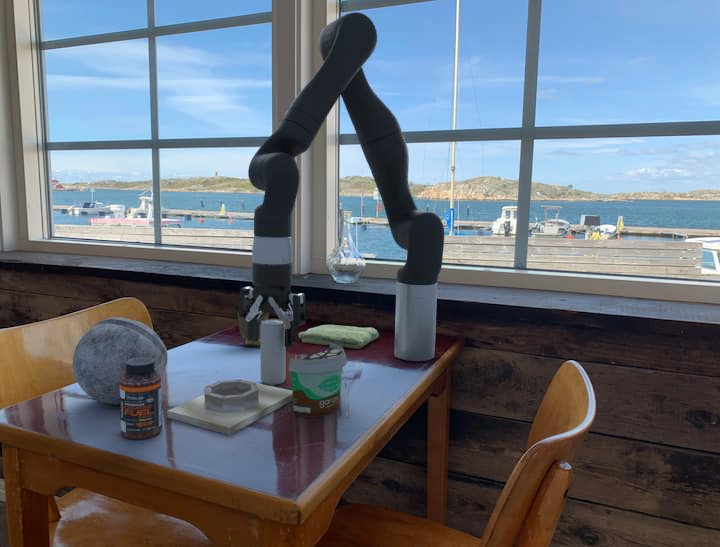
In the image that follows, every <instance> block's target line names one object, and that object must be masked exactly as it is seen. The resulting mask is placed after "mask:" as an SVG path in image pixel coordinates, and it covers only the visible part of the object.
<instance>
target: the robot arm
mask: <svg viewBox="0 0 720 547" xmlns="http://www.w3.org/2000/svg"><path fill="white" fill-rule="evenodd" d="M377 43H378V33H377V29H376V25H375V24H374V22H373V21H372V19H371V18H370V17H369V16H367V15H366V14H364V13H362V12H355V11H354V12H350V13H346V14H344V15H342V16H340V17H338V18H336V19H335V20H333V21H332V22H330V23H329V24H327V25H325V26H324V27H323V28H322V29H321V31H320V33H319V37H318V47H319V48H318V49H319V53H320V55H321V58H322V61H323V63H322V65H321V66H320V67H319V69H318V70H317V72H316V73H315V74H314V76H312V78H311V79H310V80H309V81H308V82H307V83H306V84H305V86H304V87H303V88H302V89H301V90H300V91H299V93H298V94H296V96H295V98H294V99H293V101H292V102H291V104H290V105H289V107H288V109H287V110H286V112H285V114H284V115H283V117H282V118H281V120H280V122H279V124H278V125H277V127H276V129H275V130H274V132H273V133H271V135H270V136H269V137H268V138H267V139H266V140H265V142H264V143H263V144H262V145H260V147H259V148H258V150H257V151H256V152H255V153H254V155H253V157H252V158H251V160H250V162H249V165H248V173H247V174H248V179H249V182H250V184H251V185H252V186H253V187H254V188H255V189H257V190H259V191H263V192H264V196H263V201H262V203H261V204H259V205H257V206H256V207H255V209H254V214H253V241H252V248H251V249H252V250H251V251H252V252H251V257H252V258H251V263H252V264H251V282H252V285H253V287H252V286H251V285H250V286H245V287H241V288H240V289H239V298H238V299H239V300H238V301H239V302H238V312H239V317H241V318H242V317H243V318H245V319H246V321H247V322H248V333H247V335H248V337H249V340H250V341H255V340H258V338H259V321H257V319H258V318H259V317H260V315H261V314H262V313H263V314H264V313H267V312H269V314H271V315H276V316H277V317H278V319H280V320H282V321H283V323H284V324H285V326H286V328H285V347H286V348H292V347H294V345H295V344H296V343H297V327H300V326H302V325H306V324H307V312H306V309H307V308H306V305H307V304H306V294H305V293H303V292H301V293H292V291H291V286H292V283H293V241H292V224H293V223H292V220H293V219H292V215H293V210H294V208H295V204H296V200H297V197H298V192H299V188H300V177H301V174H300V168H299V165H298V163H297V160H296V159H295V158H296V157H297V156H299V155H302V154H304V153H305V152H307V151H308V150H309V148H310V147H311V146H312V144H313V142H314V140H315V139H316V138H317V137H316V136H318V133H319V131H320V130H321V128H322V126H323V124H324V122H325V121H326V119H327V117H328V115H329V113H330V112H331V110H332V109H333V107H334V106H335V104H336V103H337V101H338V99H339V98H340V97H341V99H342V101H343V104H344V106H345V110H346V111H347V114H348V116H349V119H350V120H351V123H352V125H353V128H354V131H355V135H356V136H357V139H358V142H359V145H360V148H361V151H362V153H363V155H364V159H365V161H366V162H367V164H368V167H369V170H370V172H371V175H372V178H373V181H374V182H375V185H376V188H377V191H378V193H379V195H380V197H381V201H382V204H383V207H384V211H385V215H386V219H387V222H388V225H389V229H390V232H391V235H392V239H393V240H394V242H395V243H396V245H397V246H399V248H400V249H402V250H405V251H406V262H405V263H404V264H403V266H401V267H399V268H398V269H397V271H396V283H395V284H396V291H395V292H396V293H395V318H394V319H395V321H394V323H395V325H394V352H393V353H394V354H393V355H394V357H396V358H398V359H401V360H403V361H408V362H409V361H411V362H424V361H430V360H432V359H434V358H435V356H436V354H435V352H436V351H435V350H436V333H437V332H436V330H437V329H436V328H437V303H438V301H437V299H438V279H439V275H440V273H441V270H442V266H443V256H444V247H445V246H444V245H445V228H444V227H445V226H444V223H443V220H442V218H441V217H440V216H439V215H438V214H436V212H432V211H428V210H427V211H426V210H419V208H418V207H417V205H416V202H415V200H414V197H413V195H412V192H411V188H410V184H409V160H410V156H409V154H410V153H409V148H408V143H407V141H406V139H405V136H404V132H403V130H402V128H401V125H400V123H399V120H398V119H397V117H396V116H395V114H394V113H393V112H392V110H391V109H390V108H389V107H388V106H387V105H386V103H384V101H383V100H382V99H381V98H380V97H379V96H378V95H377V94H376V93H375V91H374V90H373V88H372V87H371V86H370V85H371V84H369V81H368V79H367V77H366V74H365V72H364V71H365V70H364V69H363V66H364V65H365V63H366V62H367V61H368V60H369V59H370V58H371V56H372V55H373V54H374V53H375V50H376V48H377ZM253 299H254V302H253ZM291 305H292V306H291Z"/></svg>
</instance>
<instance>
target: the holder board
mask: <svg viewBox="0 0 720 547" xmlns="http://www.w3.org/2000/svg"><path fill="white" fill-rule="evenodd" d="M203 390H204V394H203V395H200V396H198V397H196V398H194V399H191V400H188V401H187V402H184V403H182V404H180V405H177V406H175V407H172V408H170V409H168V410H167V419H171V420H175V421H178V422H181V423H186V424H189V425H193V426H197V427H200V428H202V429H207V430H211V431H213V432H218V433H220V434H225V435H228V436H231V435H232V434H234V433H236V432H238V431H239V430H240V431H241V429H243V428H245V427H246V426H247V427H248V426H249V425H251V424H252V423H255V422H256V421H258V420H260V419H262V418H263V417H265V416H267V415H268V414H270V413H272V412H274V411H277V410H278V409H280V408H282V407H283V406H285V405H287V404H289V403H291V402H293V393H292V390H291V389H286V388H281V387H276V386H274V385H267V384H264V383H259V382H254V381H249V380H245V379H240V378H239V379H228V380H226V379H225V380H218V381H216V382H215V381H214V382H213V383H211V384H209V385H206V386H204V388H203Z"/></svg>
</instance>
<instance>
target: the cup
mask: <svg viewBox="0 0 720 547" xmlns="http://www.w3.org/2000/svg"><path fill="white" fill-rule="evenodd" d="M236 314H237V320H238V321H237V322H238V329H239V332H240V335H241V337H242V338H243V339H245V344H246V346H248V347H257V346H261V343H260V325H261V321H263V320H268V319H269V318H270V317H269V316H270V315H269V314H270V313H269V312H267V313H264V312H263V313H262V314H261V315H260V317H259V318H258V319H257V321H259V338H258V340H255V341H250V340H249V337H248V335H247V333H248V322H247V321H246V319H245V318H243V317H242V318H241V317H239V311H238V312H237V313H236Z"/></svg>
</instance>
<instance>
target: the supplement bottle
mask: <svg viewBox="0 0 720 547" xmlns="http://www.w3.org/2000/svg"><path fill="white" fill-rule="evenodd" d="M154 368H155V366H154V360H153V359H152V358H145V357H141V358H134V359H130V360H128V361H127V362H126V371H127V372H126V374H124V375H123V376H122V377H121V378H120V382H119V391H120V404H119V424H120V425H119V426H120V434H121V435H122V436H123V437H125V438H126V439H130V440H144V439H148V438H152V437H154V436H156V435H157V434H159V433H160V432H161V431H162V429H163V411H162V410H163V407H162V406H163V403H162V401H163V400H162V399H163V398H162V397H163V396H162V392H163V391H162V390H163V389H162V388H163V387H162V378H161V376H160V374H159V373H158V372H156V371H155V370H154Z"/></svg>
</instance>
